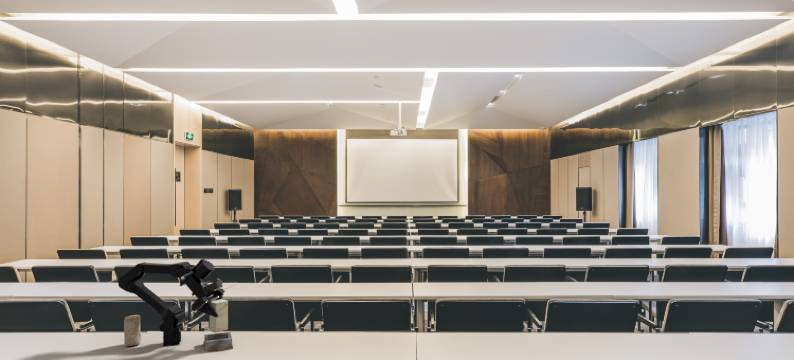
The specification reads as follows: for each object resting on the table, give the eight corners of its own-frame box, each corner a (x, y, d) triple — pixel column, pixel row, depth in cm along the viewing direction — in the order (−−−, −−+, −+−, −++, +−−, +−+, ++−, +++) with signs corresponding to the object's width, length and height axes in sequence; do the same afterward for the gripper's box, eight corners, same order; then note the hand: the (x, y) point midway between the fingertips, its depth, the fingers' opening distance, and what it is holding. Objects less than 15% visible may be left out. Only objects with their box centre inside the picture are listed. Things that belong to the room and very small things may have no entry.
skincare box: (215, 333, 211) (215, 303, 211) (208, 331, 214) (208, 301, 213) (228, 329, 216) (228, 300, 216) (221, 327, 219) (221, 298, 218)
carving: (139, 341, 221) (139, 313, 221) (142, 346, 214) (142, 317, 214) (123, 343, 217) (123, 315, 217) (125, 348, 211) (124, 319, 211)
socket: (204, 352, 207) (204, 342, 207) (203, 343, 217) (203, 334, 217) (232, 348, 211) (232, 338, 211) (230, 340, 221) (230, 331, 221)
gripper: (198, 277, 206) (224, 307, 204) (220, 269, 224) (244, 296, 223) (180, 296, 207) (205, 325, 206) (203, 286, 225) (227, 313, 224)
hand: (221, 314), depth 215 cm, fingers closed on skincare box, 7 cm apart
